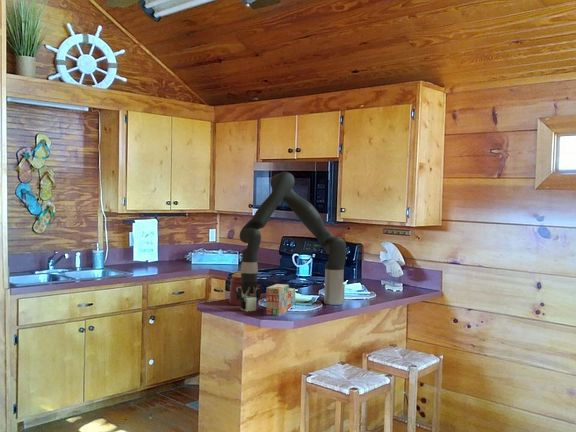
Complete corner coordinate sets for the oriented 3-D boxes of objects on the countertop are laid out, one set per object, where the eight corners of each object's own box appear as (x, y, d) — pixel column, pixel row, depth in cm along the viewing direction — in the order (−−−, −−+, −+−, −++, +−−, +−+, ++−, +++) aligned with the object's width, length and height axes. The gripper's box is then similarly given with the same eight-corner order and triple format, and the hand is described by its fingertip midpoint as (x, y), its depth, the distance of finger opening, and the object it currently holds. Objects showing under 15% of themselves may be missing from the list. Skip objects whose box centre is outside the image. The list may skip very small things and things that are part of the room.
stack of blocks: (283, 306, 266) (283, 281, 265) (295, 307, 263) (296, 282, 263) (265, 314, 246) (266, 287, 245) (278, 316, 243) (279, 288, 243)
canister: (236, 301, 276) (237, 266, 275) (260, 303, 271) (261, 267, 271) (224, 305, 264) (225, 268, 263) (248, 308, 259) (249, 270, 258)
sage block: (249, 309, 257) (249, 296, 257) (256, 310, 253) (256, 297, 253) (240, 310, 254) (241, 297, 254) (247, 312, 250) (247, 298, 250)
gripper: (256, 269, 261) (256, 305, 261) (231, 271, 251) (230, 308, 252) (266, 271, 255) (265, 308, 255) (241, 273, 246) (240, 311, 246)
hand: (248, 308), depth 254 cm, fingers closed on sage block, 5 cm apart
